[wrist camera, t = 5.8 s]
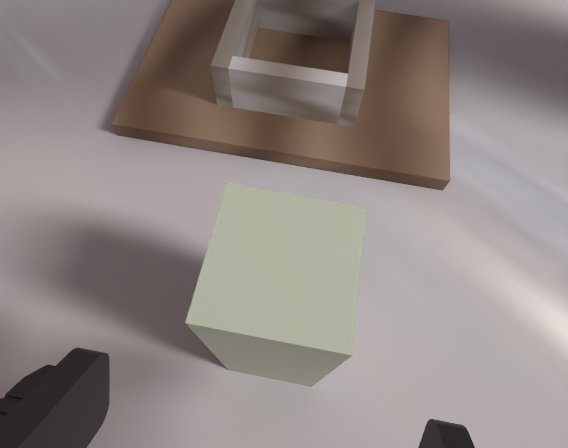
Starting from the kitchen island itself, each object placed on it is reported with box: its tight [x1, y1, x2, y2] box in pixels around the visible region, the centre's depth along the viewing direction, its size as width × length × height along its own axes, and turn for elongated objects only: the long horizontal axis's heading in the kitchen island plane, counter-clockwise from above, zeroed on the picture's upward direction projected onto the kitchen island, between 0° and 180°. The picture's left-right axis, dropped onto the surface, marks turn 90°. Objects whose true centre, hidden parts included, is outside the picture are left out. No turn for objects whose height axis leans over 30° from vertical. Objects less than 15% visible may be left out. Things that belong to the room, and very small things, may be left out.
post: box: [185, 183, 367, 386], centre depth 15 cm, size 4×4×10 cm
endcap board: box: [111, 0, 450, 190], centre depth 25 cm, size 20×14×4 cm
